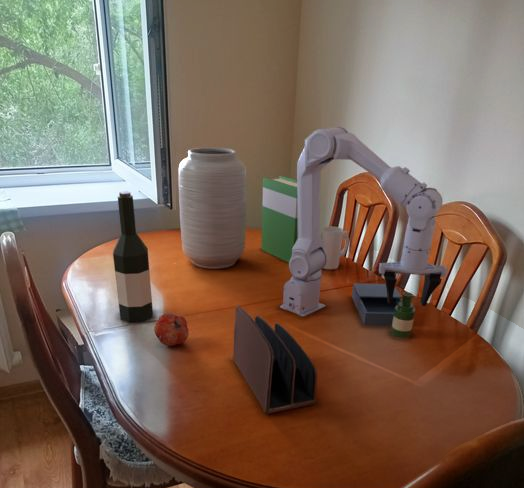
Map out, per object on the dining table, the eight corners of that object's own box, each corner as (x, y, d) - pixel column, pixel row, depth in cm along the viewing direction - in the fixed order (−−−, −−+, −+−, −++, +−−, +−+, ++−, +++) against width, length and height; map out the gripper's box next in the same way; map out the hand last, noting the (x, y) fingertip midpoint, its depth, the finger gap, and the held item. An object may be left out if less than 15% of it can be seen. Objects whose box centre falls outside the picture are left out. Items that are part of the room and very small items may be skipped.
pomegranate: (151, 351, 111) (161, 343, 103) (148, 319, 113) (157, 309, 104) (183, 348, 115) (195, 340, 106) (179, 317, 116) (191, 307, 107)
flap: (353, 284, 134) (353, 283, 133) (393, 285, 134) (393, 284, 134) (359, 297, 126) (359, 296, 126) (401, 298, 127) (401, 297, 126)
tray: (351, 298, 136) (353, 285, 134) (391, 299, 136) (393, 286, 134) (363, 326, 121) (365, 313, 119) (408, 327, 121) (410, 313, 119)
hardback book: (261, 249, 170) (263, 177, 159) (278, 245, 174) (281, 175, 162) (292, 264, 157) (297, 188, 146) (310, 260, 161) (316, 185, 150)
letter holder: (266, 415, 88) (268, 347, 82) (232, 360, 105) (232, 300, 98) (315, 405, 92) (322, 338, 85) (275, 353, 108) (278, 294, 101)
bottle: (403, 341, 114) (411, 300, 109) (386, 334, 117) (393, 293, 112) (414, 335, 117) (422, 294, 112) (397, 328, 120) (405, 288, 115)
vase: (174, 254, 162) (168, 146, 146) (231, 248, 170) (231, 145, 154) (193, 276, 146) (189, 157, 130) (255, 267, 154) (258, 155, 138)
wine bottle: (145, 324, 118) (134, 198, 104) (113, 320, 119) (97, 195, 105) (159, 310, 125) (150, 190, 111) (128, 306, 126) (115, 187, 112)
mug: (324, 271, 153) (328, 233, 148) (313, 263, 159) (317, 227, 153) (351, 267, 157) (356, 230, 152) (340, 260, 163) (344, 224, 157)
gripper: (445, 242, 110) (433, 298, 117) (380, 239, 111) (372, 294, 117) (454, 253, 104) (441, 310, 111) (385, 249, 105) (376, 307, 111)
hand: (406, 303), depth 114 cm, fingers open, 7 cm apart
